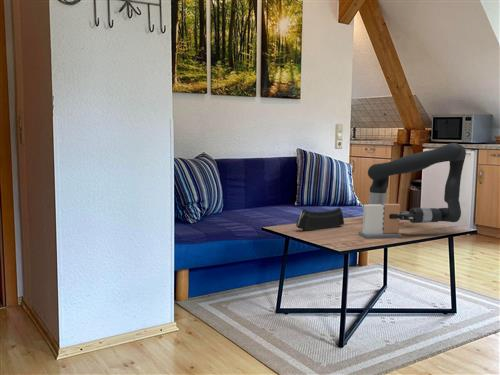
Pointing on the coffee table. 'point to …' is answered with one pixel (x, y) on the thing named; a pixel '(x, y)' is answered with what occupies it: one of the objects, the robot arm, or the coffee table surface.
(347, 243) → the coffee table surface
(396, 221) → the brown rectangular block
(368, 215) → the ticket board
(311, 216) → the magazine
